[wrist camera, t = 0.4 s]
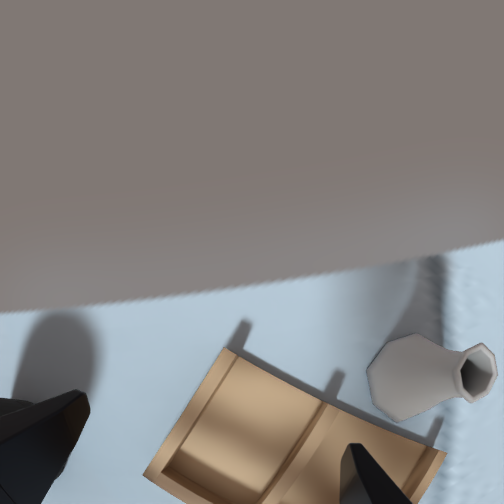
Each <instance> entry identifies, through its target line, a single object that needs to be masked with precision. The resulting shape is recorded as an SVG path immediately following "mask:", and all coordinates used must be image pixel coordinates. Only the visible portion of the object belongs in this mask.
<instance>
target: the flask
mask: <svg viewBox="0 0 504 504" xmlns="http://www.w3.org/2000/svg"><path fill="white" fill-rule="evenodd" d="M366 372H367V377H368V382H369V387H370V392H371V397H372V402H373V405H375V406H376V407H377V408H378V409H380V410H381V411H382V412H383V413H385V414H386V415H387V416H388V417H390V418H391V419H392V420H394V421H395V422H396V423H398V422H400V421H403V420H406V419H408V418H411V417H413V416H415V415H418V414H420V413H422V412H425V411H427V410H429V409H431V408H432V407H434V406H435V405H437V404H438V403H440V402H442V401H444V400H448V399H451V398H464V399H465V400H466V401H467V402H469V403H474V402H476V401H477V400H479V399H481V398H482V397H484V396H486V395H488V394H489V392H490V390H491V388H492V386H493V384H494V382H495V380H496V378H497V376H498V372H497V366H496V361H495V355H494V354H493V353H492V352H491V351H490V350H489V349H488V348H487V347H486V346H485V345H484V344H483V343H479V344H477V345H475V346H473V347H471V348H469V349H467V350H465V351H463V352H459V351H452V350H448V349H445V348H443V347H441V346H439V345H437V344H435V343H433V342H431V341H430V340H428V339H426V338H425V337H423V336H421V335H420V334H418V333H414V334H411V335H408V336H405V337H402V338H399V339H396V340H393V341H390V342H387V343H386V345H385V346H384V347H383V349H382V350H381V352H380V353H379V354H378V356H377V357H376V358H375V360H374V361H373V362H372V364H371V365H370V366H369V367H368V369H367V370H366Z"/></svg>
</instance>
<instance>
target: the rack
mask: <svg viewBox="0 0 504 504" xmlns="http://www.w3.org/2000/svg"><path fill="white" fill-rule="evenodd" d="M349 443H361V444H362V445H363V446H364V447H365V448H366V449H367V451H368V452H369V453H370V454H371V455H372V457H373V458H374V459H375V460H376V461H377V463H378V464H379V465H380V466H381V467H382V468H383V470H384V471H385V472H386V473H387V474H388V475H389V477H390V478H391V479H392V480H393V481H394V482H395V484H396V485H397V486H398V487H399V488H400V489H401V491H402V492H403V493H404V494H405V495H406V496H407V497H408V499H409V500H410V501H411V502H412V503H413V504H418V502H419V500H420V499H421V497H422V496H423V494H424V493H425V491H426V490H427V488H428V486H429V485H430V483H431V481H432V480H433V478H434V476H435V475H436V473H437V471H438V469H439V468H440V466H441V464H442V462H443V460H444V458H445V457H446V455H447V453H446V452H443V451H440V450H437V449H434V448H431V447H429V446H426V445H423V444H420V443H418V442H415V441H413V440H410V439H407V438H405V437H402V436H400V435H397V434H395V433H392V432H390V431H388V430H385V429H383V428H380V427H378V426H376V425H373V424H371V423H369V422H367V421H364V420H362V419H360V418H358V417H355V416H353V415H351V414H349V413H347V412H344V411H342V410H341V409H338V408H336V407H334V406H332V405H330V404H328V403H326V402H323V401H321V400H319V399H317V398H315V397H313V396H311V395H309V394H307V393H305V392H303V391H301V390H299V389H298V388H296V387H294V386H292V385H290V384H288V383H286V382H284V381H282V380H280V379H279V378H277V377H275V376H273V375H271V374H269V373H268V372H266V371H264V370H262V369H260V368H259V367H257V366H255V365H253V364H251V363H250V362H248V361H246V360H244V359H243V358H241V357H239V356H238V355H236V354H234V353H233V352H231V351H229V350H228V349H226V348H223V350H222V351H221V353H220V355H219V356H218V358H217V359H216V361H215V363H214V364H213V366H212V367H211V369H210V371H209V372H208V374H207V375H206V377H205V379H204V380H203V382H202V383H201V385H200V387H199V388H198V390H197V391H196V393H195V395H194V396H193V398H192V399H191V401H190V402H189V404H188V406H187V407H186V409H185V410H184V412H183V413H182V415H181V416H180V418H179V420H178V421H177V423H176V424H175V426H174V427H173V429H172V430H171V432H170V434H169V435H168V437H167V438H166V440H165V441H164V443H163V444H162V446H161V447H160V449H159V450H158V452H157V453H156V455H155V456H154V458H153V459H152V461H151V463H150V464H149V466H148V467H147V469H146V470H145V472H144V473H143V476H144V477H146V478H147V479H148V480H150V481H151V482H153V483H154V484H156V485H157V486H159V487H160V488H162V489H164V490H165V491H167V492H168V493H170V494H171V495H173V496H175V497H176V498H178V499H180V500H181V501H183V502H185V503H186V504H339V492H340V463H341V458H342V456H343V454H344V451H345V449H346V447H347V445H348V444H349Z"/></svg>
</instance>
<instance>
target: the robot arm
mask: <svg viewBox="0 0 504 504" xmlns="http://www.w3.org/2000/svg"><path fill="white" fill-rule="evenodd" d="M89 415H90V405H89V402H88V398H87V395H86V393H85V392H82V391H80V390H77V389H75V390H72V391H70V392H67V393H64V394H62V395H59V396H56V397H54V398H51V399H48V400H46V401H43V402H40V403H38V404H35V405H32V406H29V407H26V408H24V409H21V410H18V411H15V412H12V413H9V414H6V415H3V416H1V417H0V504H41V503H42V501H43V499H44V497H45V496H46V494H47V492H48V490H49V489H50V487H51V485H52V483H53V482H54V480H55V478H56V477H57V475H58V473H59V472H60V470H61V468H62V467H63V465H64V463H65V462H66V460H67V458H68V457H69V455H70V453H71V452H72V450H73V448H74V447H75V445H76V443H77V441H78V439H79V437H80V434H81V432H82V430H83V428H84V426H85V424H86V421H87V419H88V417H89ZM339 504H413V503H412V502H411V501H410V500H409V499H408V497H407V496H406V495H405V494H404V493H403V492H402V491H401V489H400V488H399V487H398V486H397V485H396V484H395V482H394V481H393V480H392V479H391V478H390V477H389V475H388V474H387V473H386V472H385V471H384V470H383V468H382V467H381V466H380V465H379V464H378V463H377V461H376V460H375V459H374V458H373V457H372V455H371V454H370V453H369V452H368V451H367V449H366V448H365V447H364V446H363V445H362V444H361V443H349V444H348V445H347V447H346V449H345V451H344V454H343V456H342V458H341V463H340V492H339Z"/></svg>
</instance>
